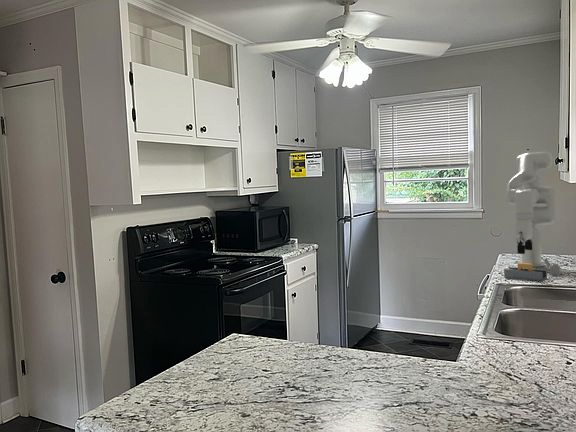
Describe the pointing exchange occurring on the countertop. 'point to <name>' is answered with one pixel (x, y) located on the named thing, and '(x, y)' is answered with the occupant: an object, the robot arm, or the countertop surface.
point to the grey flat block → (525, 274)
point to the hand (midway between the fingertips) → (525, 251)
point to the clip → (525, 266)
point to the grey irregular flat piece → (553, 268)
